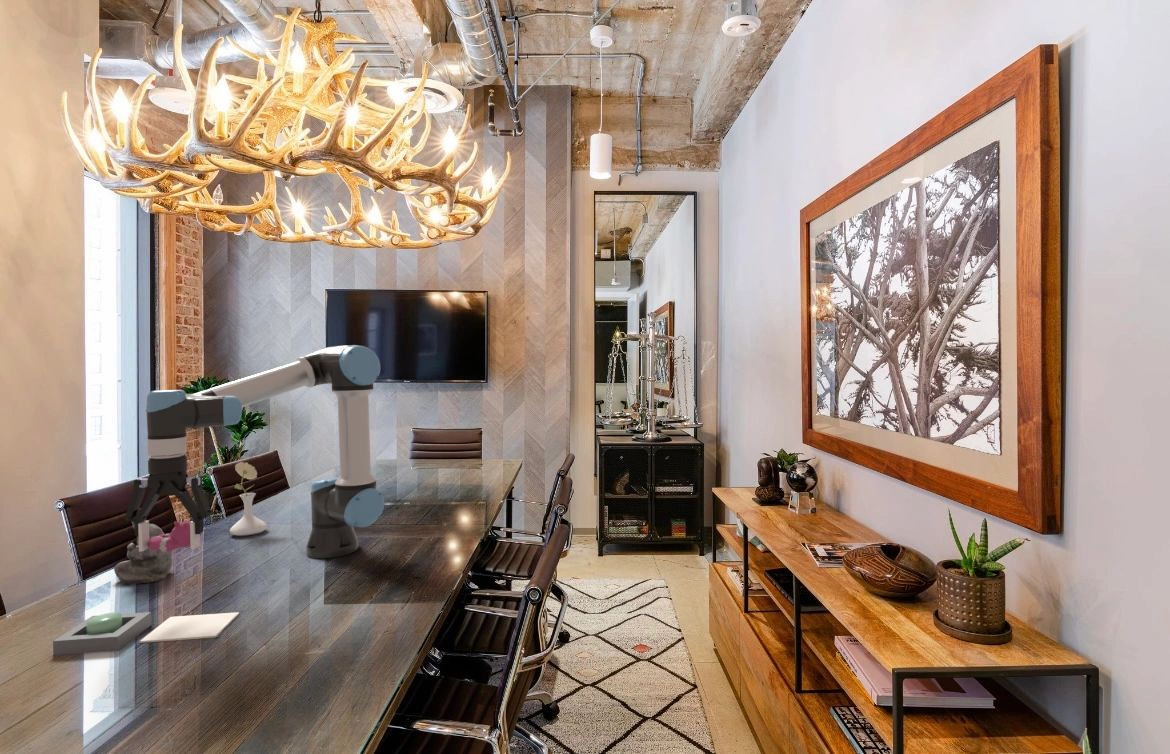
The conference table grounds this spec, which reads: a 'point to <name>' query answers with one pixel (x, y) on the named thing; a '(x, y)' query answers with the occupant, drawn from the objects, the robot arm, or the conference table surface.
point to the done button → (104, 623)
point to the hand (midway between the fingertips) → (170, 548)
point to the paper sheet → (190, 627)
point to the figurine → (144, 562)
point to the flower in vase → (247, 505)
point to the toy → (172, 538)
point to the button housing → (101, 636)
